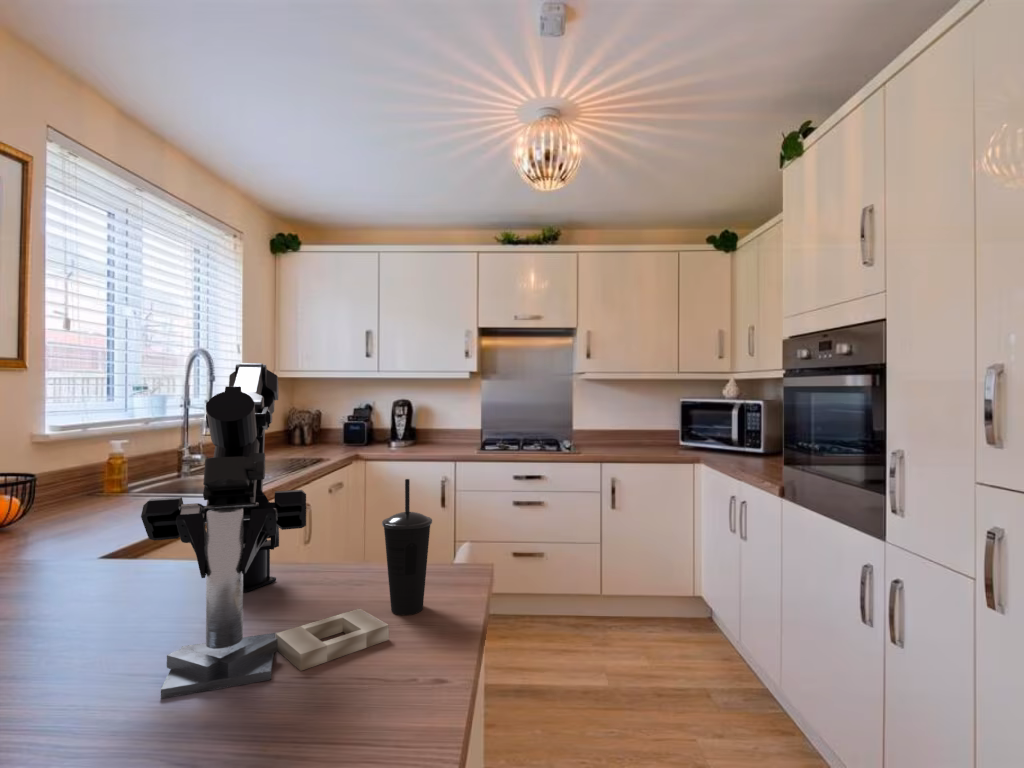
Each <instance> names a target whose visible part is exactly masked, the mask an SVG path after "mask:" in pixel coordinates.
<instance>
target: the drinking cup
mask: <svg viewBox="0 0 1024 768" xmlns="http://www.w3.org/2000/svg"><path fill="white" fill-rule="evenodd" d="M410 488H411V487H410V478H405V480H404V511H403V512H399V513H395V514H393V515H391V516H389V517H387V518H385V519H383V520H381V521H382V522H381V525H382V527H383V530H384V531H383V532H384V543H385V554H386V563H387V564H386V565H387V567H386V568H387V578H388V589H389V590H388V591H389V598H390V599H389V600H390V601H389V602H390V609H391V613H392V614H395V615H398V616H410V615H415V614H417V613H420V612H421V611H423V608H424V599H425V588H426V577H427V568H428V567H427V566H428V556H429V555H428V554H429V544H430V542H429V541H430V533H431V525H432V524H433V519H432V518H431V517H429V516H426V515H425V514H423V513H421V512H418V511H417V512H416V511H415V512H414V511H410V503H411V502H410V500H411V499H410V495H411V494H410V491H411V489H410Z"/></svg>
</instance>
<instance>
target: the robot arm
mask: <svg viewBox="0 0 1024 768" xmlns="http://www.w3.org/2000/svg"><path fill="white" fill-rule="evenodd" d="M278 378H279V377H278V375H277V374H276V373H274V372H272V371H270V370H269V369H268V368H267V364H264V363H261V362H240V363H236V364H235V368H234V371H233V372H231V373H230V374H229V380H228V385H226V386H225V388H224V391H221V392H220V393H217V394H215V395H214V396H212V397H211V398H210V399H209V400H208V401H207V402H206V404H205V411H206V412H205V413H206V414H205V421H206V427H207V428H208V430H209V435H210V440H211V442H212V444H213V446H214V451H213V452H214V453H213V457H208V458H206V459H205V461H204V473H203V486H204V487H203V492H202V495H203V496H202V497H203V500H204V501H206V505H203V504H202V503H194V502H193V503H184V501H183V498H182V496H179V497H177V496H176V497H175V496H174V497H161V498H150V499H149V500H148V501H146V502H145V503H144V504H143V506H142V509H141V510H142V511H141V514H140V518H141V521H142V524H143V526H144V529H145V532H146V535H147V538H148V539H149V540H152V541H165V540H175V539H176V540H178V539H179V538H180V542H181V543H183V544H191V546H192V549H193V552H194V553H195V556H196V560H197V561H196V562H197V565H198V568H199V575H200V577H201V579H206V538H207V511H209V510H212V509H216V508H223V507H241V508H243V557H242V569H241V570H242V574H243V593H246V592H250V591H253V590H256V589H258V588H261V587H264V586H266V585H268V584H271V583H273V582H275V581H277V577H275V576H271V569H270V568H271V550H273V551H274V550H275V548H277V547H280V530H281V531H283V530H285V531H286V530H296V529H303V528H304V527H306V526H307V493H306V492H305V491H304V490H303V489H292V490H289V489H287V490H276V491H274V501H272V502H270V501H269V499H268V497H267V496H266V495H265V493H264V492H263V489H264V480H265V479H266V454H265V438H266V436H265V435H266V430H269V428H270V425H271V424H272V423H273V414H274V413H275V407H276V405H275V404H276V402H275V401H279V393H280V392H279V389H280V388H279V379H278Z"/></svg>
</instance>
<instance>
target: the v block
mask: <svg viewBox="0 0 1024 768" xmlns="http://www.w3.org/2000/svg"><path fill="white" fill-rule="evenodd" d="M276 633H277V632H273V633H265V634H258V635H257V634H256V635H251V636H243V639H242V640H241V641H240V642H239V643H237V644H235V645H233V646H230V647H226V648H220V649H212V648H208V647H207V646H206V642H203V643H197V644H190V645H188V644H187V645H183V646H181V648H179V649H178V650H175V651H173V652H170V653H169V654H166V668H167V669H169V672H168V674H167V676H166V678H165V680H164V683H163V684H162V685H161V686H162V687H161V688H160V699H166V698H173V697H180V696H185V695H190V694H196V693H201V692H202V693H203V692H207V691H212V690H217V689H219V690H220V689H225V688H231V687H236V686H243V685H249V684H254V683H255V684H256V683H259V682H265V681H271V678H272V671H273V670H272V669H273V662H274V655H275V652H279V651H278V639H277V638H276Z"/></svg>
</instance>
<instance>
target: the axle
mask: <svg viewBox="0 0 1024 768" xmlns="http://www.w3.org/2000/svg"><path fill="white" fill-rule="evenodd" d="M206 533H207V538H206V577H205V579H206V580H205V584H206V585H205V589H206V591H205V595H206V597H205V598H206V599H205V600H206V601H205V602H206V603H205V617H206V618H205V620H206V621H205V643H206V646H207V647H208V648H212V649H220V648H226V647H230V646H233V645H235V644H237V643H239V642H240V641H241V640H242V639H243V637H244V635H243V634H244V633H243V632H244V617H243V616H244V592H243V574H242V570H241V569H242V557H243V508H241V507H223V508H216V509H212V510H209V511H207V523H206Z"/></svg>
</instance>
